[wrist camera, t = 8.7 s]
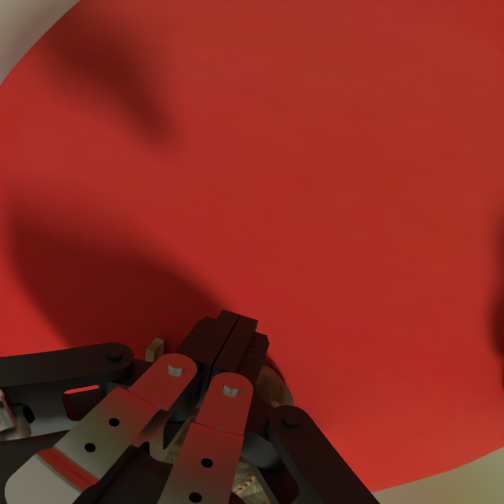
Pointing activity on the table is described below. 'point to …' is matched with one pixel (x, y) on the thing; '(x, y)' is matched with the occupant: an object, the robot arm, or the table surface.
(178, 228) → the table surface
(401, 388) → the table surface
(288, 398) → the shell
